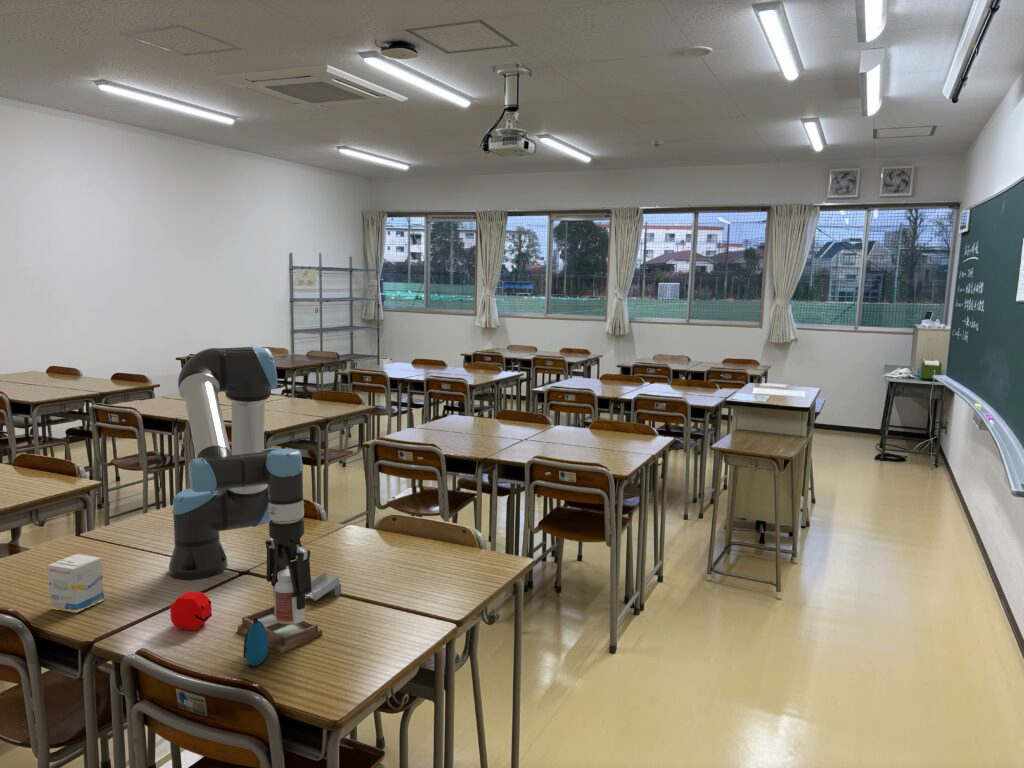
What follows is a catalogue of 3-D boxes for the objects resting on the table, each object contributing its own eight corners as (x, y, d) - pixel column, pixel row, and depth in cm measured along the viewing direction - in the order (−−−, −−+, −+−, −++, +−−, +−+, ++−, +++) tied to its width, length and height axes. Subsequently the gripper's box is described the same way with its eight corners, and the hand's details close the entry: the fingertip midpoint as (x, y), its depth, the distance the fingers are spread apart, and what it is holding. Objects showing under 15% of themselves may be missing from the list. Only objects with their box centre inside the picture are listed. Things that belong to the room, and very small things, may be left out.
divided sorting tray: (237, 630, 166) (237, 619, 166) (279, 614, 175) (278, 603, 175) (280, 653, 156) (280, 641, 156) (322, 634, 165) (322, 623, 164)
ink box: (105, 601, 182) (102, 556, 180) (75, 615, 174) (72, 568, 172) (80, 596, 185) (77, 552, 183) (49, 609, 177) (46, 564, 175)
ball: (197, 635, 164) (195, 603, 163) (165, 632, 165) (163, 601, 164) (217, 620, 172) (215, 589, 171) (186, 617, 173) (185, 587, 172)
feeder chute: (299, 599, 184) (298, 580, 183) (326, 588, 190) (326, 570, 190) (313, 605, 180) (313, 586, 179) (341, 594, 187) (340, 576, 186)
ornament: (250, 653, 156) (248, 610, 155) (272, 652, 156) (270, 609, 155) (239, 673, 148) (237, 627, 146) (262, 672, 148) (261, 626, 147)
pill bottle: (307, 621, 162) (306, 573, 160) (280, 627, 158) (278, 579, 157) (299, 610, 167) (297, 565, 165) (272, 617, 163) (270, 570, 162)
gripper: (247, 514, 163) (251, 611, 165) (298, 531, 151) (301, 635, 154) (276, 507, 168) (279, 600, 171) (327, 523, 157) (329, 623, 159)
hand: (289, 617), depth 162 cm, fingers closed on pill bottle, 6 cm apart
